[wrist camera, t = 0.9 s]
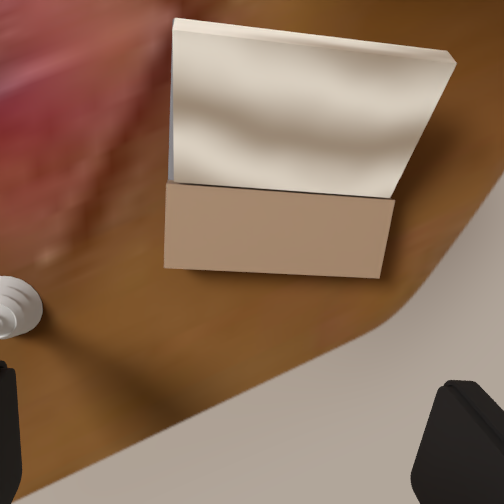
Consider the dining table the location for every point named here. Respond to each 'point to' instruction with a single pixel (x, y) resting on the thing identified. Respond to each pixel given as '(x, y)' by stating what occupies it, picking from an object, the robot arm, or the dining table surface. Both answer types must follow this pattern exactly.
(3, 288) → the chalice
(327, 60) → the pale plank
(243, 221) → the floor sample board
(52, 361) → the dining table surface
